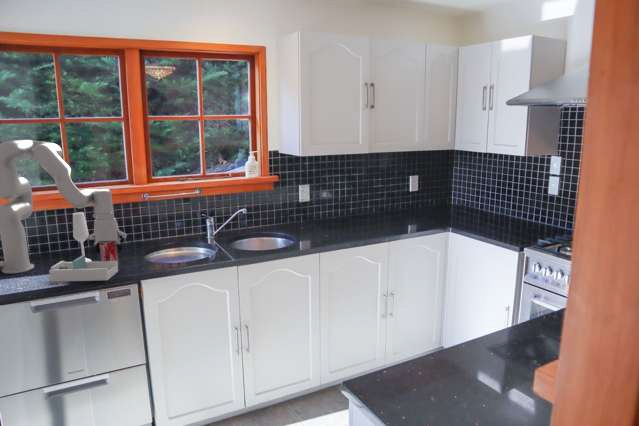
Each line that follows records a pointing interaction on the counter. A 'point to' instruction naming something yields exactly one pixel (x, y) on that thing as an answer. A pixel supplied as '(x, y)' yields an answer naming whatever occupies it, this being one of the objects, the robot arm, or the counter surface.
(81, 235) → the champagne flute
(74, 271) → the light grey tray
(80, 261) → the pusher plate
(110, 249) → the soda can
